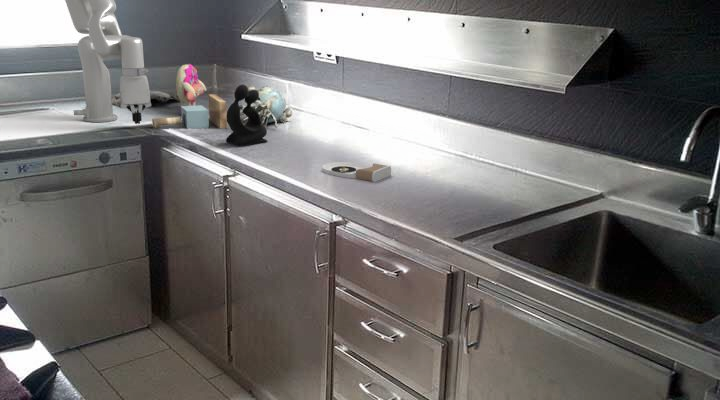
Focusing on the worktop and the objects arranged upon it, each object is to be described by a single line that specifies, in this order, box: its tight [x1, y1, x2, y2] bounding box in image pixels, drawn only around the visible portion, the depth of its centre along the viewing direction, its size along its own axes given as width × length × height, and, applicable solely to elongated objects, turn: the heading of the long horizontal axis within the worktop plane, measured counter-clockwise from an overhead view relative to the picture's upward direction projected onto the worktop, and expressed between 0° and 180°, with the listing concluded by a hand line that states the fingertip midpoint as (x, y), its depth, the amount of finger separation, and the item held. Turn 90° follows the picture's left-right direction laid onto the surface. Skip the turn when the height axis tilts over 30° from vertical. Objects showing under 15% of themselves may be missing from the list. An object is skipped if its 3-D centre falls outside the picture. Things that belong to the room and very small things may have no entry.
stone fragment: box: [112, 90, 181, 109], centre depth 304 cm, size 26×29×6 cm
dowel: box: [151, 116, 182, 129], centre depth 258 cm, size 10×4×4 cm
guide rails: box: [158, 121, 186, 130], centre depth 259 cm, size 9×7×1 cm
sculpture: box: [239, 85, 293, 129], centre depth 265 cm, size 20×18×30 cm
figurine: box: [225, 84, 268, 147], centre depth 235 cm, size 14×9×20 cm, turn 134°
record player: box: [321, 161, 392, 183], centre depth 204 cm, size 12×3×20 cm
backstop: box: [208, 93, 228, 130], centre depth 265 cm, size 2×18×10 cm, turn 24°
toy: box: [175, 63, 207, 116], centre depth 283 cm, size 25×9×20 cm, turn 179°
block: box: [180, 104, 210, 129], centre depth 262 cm, size 8×11×6 cm
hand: (137, 123), depth 254 cm, fingers closed
